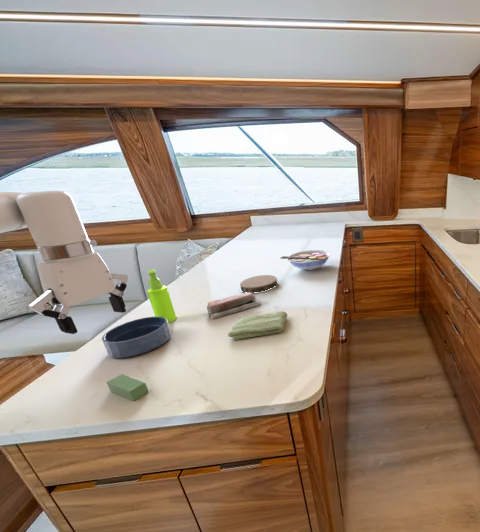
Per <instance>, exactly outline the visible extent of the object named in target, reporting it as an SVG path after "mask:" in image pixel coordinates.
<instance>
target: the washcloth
mask: <svg viewBox="0 0 480 532" xmlns="http://www.w3.org/2000/svg"><path fill="white" fill-rule="evenodd" d="M287 317H288V313H287V312H286V311H284V310H279V311H276V312H269V313H263V314H258V315H250V316H249V315H248V316H244V317H241V318H240V319H238V320H237V322H236V323H234V325H233V326H232V328H231V330H230V331H229V332H228V333H227V337H229V338H232V340H233V341H238V340H242V339H249V338H256V337H261V336H267V335H268V336H269V335H273V334H277V333H278V334H279V333H281V332H282V331H284V328H285V324H286V323H285V322H286V320H287Z"/></svg>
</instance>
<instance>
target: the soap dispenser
mask: <svg viewBox="0 0 480 532" xmlns="http://www.w3.org/2000/svg"><path fill="white" fill-rule="evenodd" d="M147 273H148V275H149V278H150V279H149V280H148V281H147V282H148V285H149V289H147V290H146V293H147V296H148V299H149V302H150V305H151V308H152V311H153V314H154V317H164V318H166V319H167V320H168V323H171V322H174V321H176V319H177V315H176V312H175V309H174V305H173V303H172V298H171V295H170V292H169V290H168V286H166V285H163V284H162V281H161V278H159V277H157V275H156V270H155V269H154V268H153V269H149V270H147Z"/></svg>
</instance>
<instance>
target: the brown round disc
mask: <svg viewBox="0 0 480 532" xmlns="http://www.w3.org/2000/svg"><path fill="white" fill-rule="evenodd" d="M276 284H277V285H278V280H277V276H275V275H271V274H263V275H261V274H260V275H256V276H251V277H248V278H246V279H244V280H241V282H240V283H239V286H240V290H242V291H243V292H242V291H241V292H242V293H244V292H250V293H253V294H255V293H254V292H261V291H265V290H268V289H270V288H273V287H274V286H276ZM276 287H277V286H276ZM274 288H275V287H274ZM274 288H273V289H274ZM268 291H269V290H268ZM265 292H266V291H265ZM261 293H262V292H261Z"/></svg>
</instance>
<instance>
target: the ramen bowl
mask: <svg viewBox="0 0 480 532" xmlns="http://www.w3.org/2000/svg"><path fill="white" fill-rule="evenodd" d="M330 255H331V254H330V251H327V250H321V249H315V250H313V249H312V250H310V249H309V250H302V251H298V252H295V253H292V254H290V255H288V256H284V255H282V257H280V259H281V260H287V261H288V262H289V263H290V264H291V265H292V266H293V267H295V268H297V269H300V270H304V269H306V270H305V271H310V270H309V269H314V270H316V269H318V268H320V267H322V266H324V265H325V264H326V262H327V261H328V260H329V258H330ZM315 268H316V269H315Z"/></svg>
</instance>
